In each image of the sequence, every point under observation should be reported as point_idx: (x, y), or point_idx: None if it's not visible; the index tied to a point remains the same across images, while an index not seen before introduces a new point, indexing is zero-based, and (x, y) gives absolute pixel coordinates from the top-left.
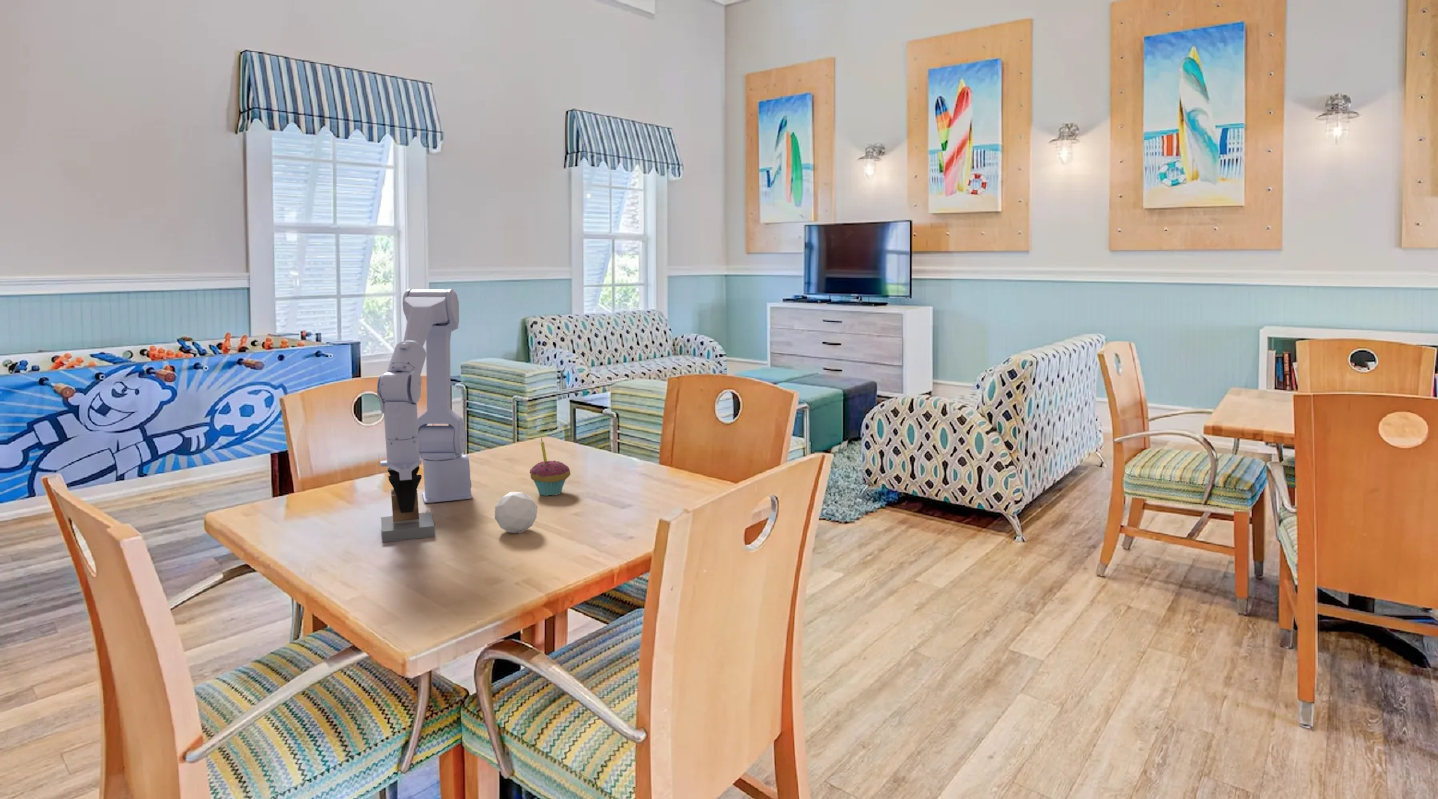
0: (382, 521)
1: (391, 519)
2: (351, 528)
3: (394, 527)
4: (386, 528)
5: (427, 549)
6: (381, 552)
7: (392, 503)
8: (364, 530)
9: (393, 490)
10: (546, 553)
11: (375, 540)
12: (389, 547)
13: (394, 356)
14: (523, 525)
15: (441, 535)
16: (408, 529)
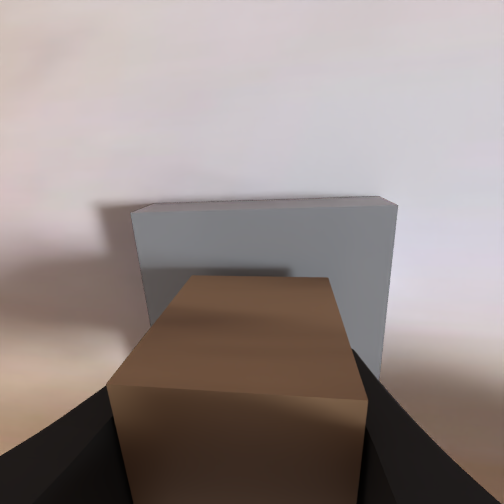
0: (307, 214)
1: (326, 259)
2: (440, 28)
3: (185, 269)
4: (177, 234)
5: (54, 346)
6: (37, 200)
7: (145, 339)
8: (366, 110)
9: (296, 416)
10: None
11: (189, 172)
12: (90, 230)
13: None
14: None
15: None
16: (151, 322)
